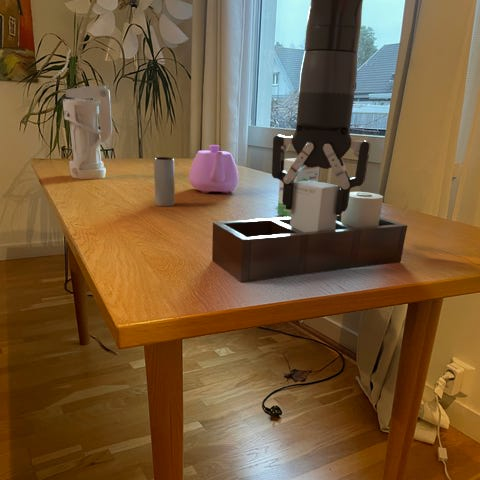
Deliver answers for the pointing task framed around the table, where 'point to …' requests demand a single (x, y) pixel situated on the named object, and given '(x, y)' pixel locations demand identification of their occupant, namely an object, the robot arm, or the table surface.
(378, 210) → the towel roll
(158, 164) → the grey cylinder
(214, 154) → the teapot
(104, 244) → the table surface
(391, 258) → the box
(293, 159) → the ink box
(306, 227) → the cosmetic box
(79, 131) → the lantern
